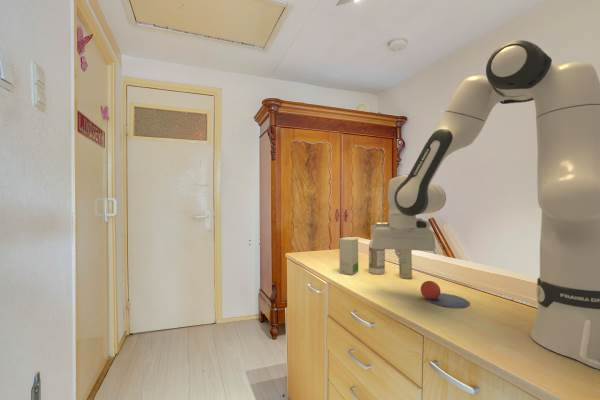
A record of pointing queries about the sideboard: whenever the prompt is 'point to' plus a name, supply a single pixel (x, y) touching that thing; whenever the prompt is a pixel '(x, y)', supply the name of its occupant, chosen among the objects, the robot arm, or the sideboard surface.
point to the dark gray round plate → (450, 301)
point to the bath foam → (376, 260)
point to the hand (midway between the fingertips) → (403, 262)
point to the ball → (430, 290)
